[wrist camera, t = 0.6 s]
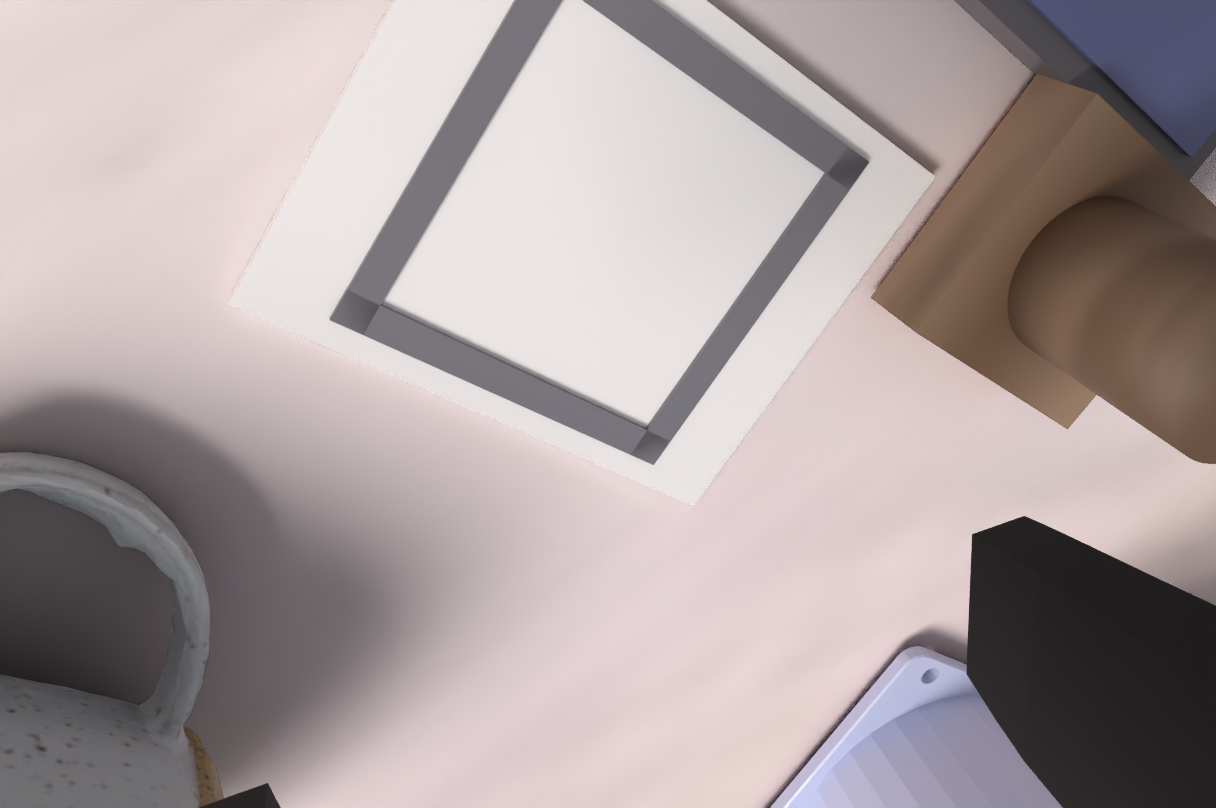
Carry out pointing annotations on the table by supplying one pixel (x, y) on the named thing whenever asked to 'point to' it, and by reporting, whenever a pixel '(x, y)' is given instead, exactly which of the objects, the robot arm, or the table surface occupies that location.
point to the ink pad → (1124, 61)
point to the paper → (582, 223)
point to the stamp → (1073, 270)
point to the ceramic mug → (98, 725)
